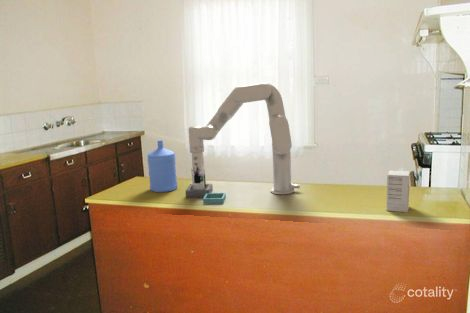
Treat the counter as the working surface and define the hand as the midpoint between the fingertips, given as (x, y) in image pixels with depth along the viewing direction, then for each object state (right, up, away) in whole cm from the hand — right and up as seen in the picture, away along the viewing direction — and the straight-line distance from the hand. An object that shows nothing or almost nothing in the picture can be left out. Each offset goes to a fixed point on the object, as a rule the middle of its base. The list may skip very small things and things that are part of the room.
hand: (198, 180), depth 234 cm
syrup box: (0, -8, +1) cm, 8 cm away
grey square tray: (0, -7, +1) cm, 7 cm away
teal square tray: (+9, -9, -11) cm, 17 cm away
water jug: (-21, -6, +15) cm, 27 cm away
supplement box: (+94, -11, -36) cm, 102 cm away
